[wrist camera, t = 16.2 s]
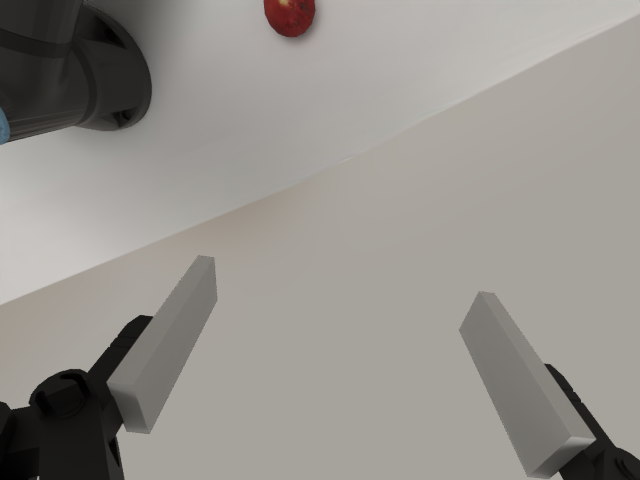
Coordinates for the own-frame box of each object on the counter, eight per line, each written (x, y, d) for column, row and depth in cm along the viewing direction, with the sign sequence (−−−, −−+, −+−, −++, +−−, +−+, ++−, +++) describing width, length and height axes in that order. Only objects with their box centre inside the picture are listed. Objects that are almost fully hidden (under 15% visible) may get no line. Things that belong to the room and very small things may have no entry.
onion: (322, -8, 36) (319, -25, 29) (308, 46, 39) (303, 42, 32) (276, -27, 35) (262, -50, 28) (265, 29, 38) (250, 21, 31)
